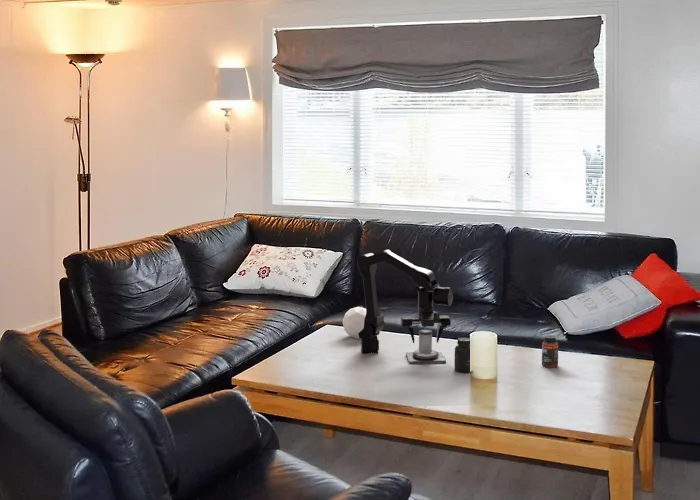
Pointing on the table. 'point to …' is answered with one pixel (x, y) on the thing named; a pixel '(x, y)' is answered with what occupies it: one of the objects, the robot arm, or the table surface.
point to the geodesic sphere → (354, 321)
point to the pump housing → (425, 341)
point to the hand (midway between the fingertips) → (425, 342)
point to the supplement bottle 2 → (550, 352)
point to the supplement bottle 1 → (462, 356)
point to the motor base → (425, 357)
